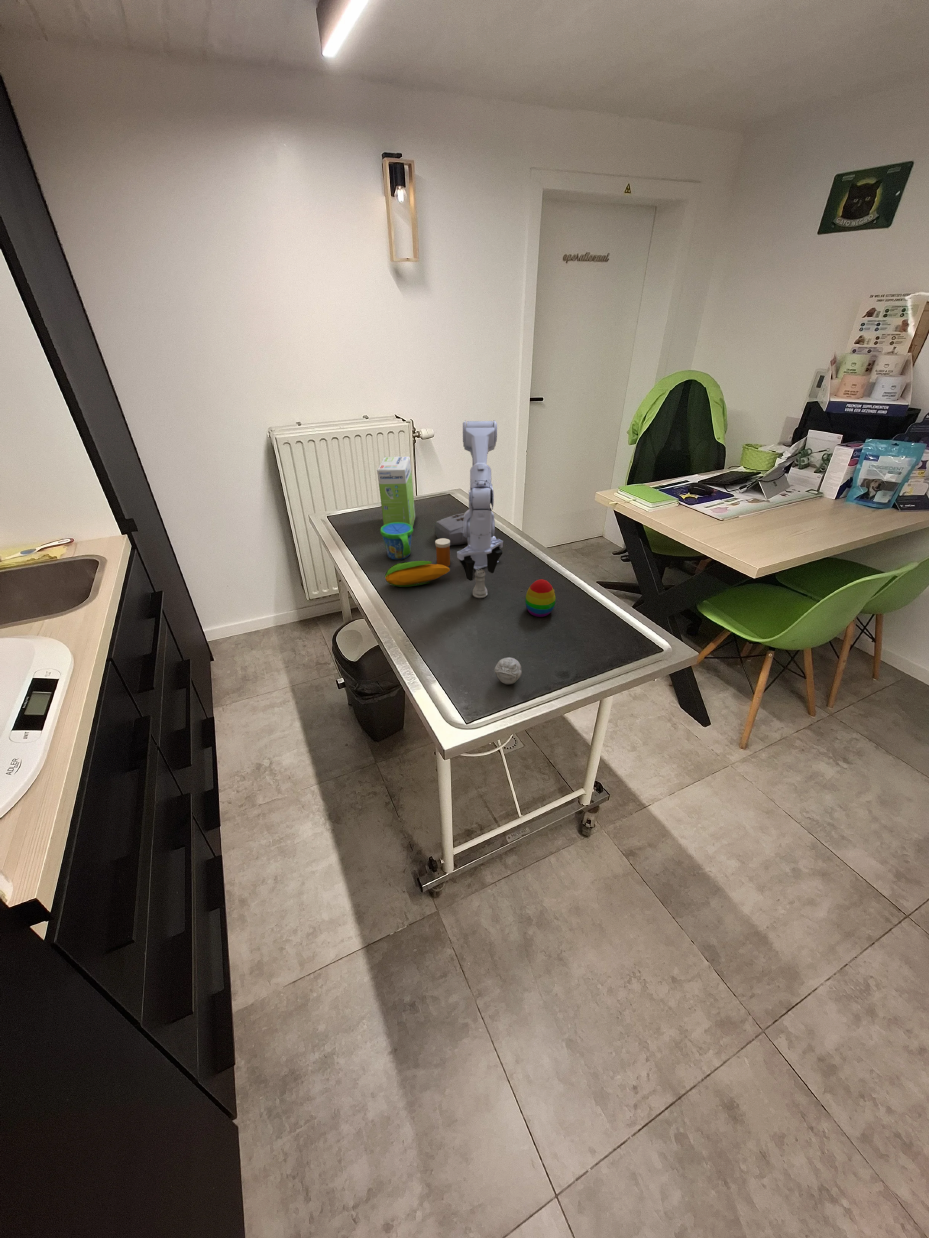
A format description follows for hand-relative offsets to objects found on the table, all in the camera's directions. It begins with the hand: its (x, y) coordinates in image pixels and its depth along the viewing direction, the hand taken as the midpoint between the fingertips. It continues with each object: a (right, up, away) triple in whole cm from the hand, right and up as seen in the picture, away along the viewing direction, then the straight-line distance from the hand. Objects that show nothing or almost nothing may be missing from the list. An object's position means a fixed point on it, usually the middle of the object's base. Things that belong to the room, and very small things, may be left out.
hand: (480, 575), depth 139 cm
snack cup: (-27, +9, +26) cm, 38 cm away
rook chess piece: (0, -6, +4) cm, 7 cm away
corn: (-19, -1, +10) cm, 21 cm away
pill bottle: (-12, +6, +20) cm, 24 cm away
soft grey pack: (-5, +18, +39) cm, 43 cm away
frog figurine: (+5, -27, -29) cm, 40 cm away
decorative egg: (+16, -11, -4) cm, 20 cm away
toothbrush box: (-29, +23, +48) cm, 61 cm away
